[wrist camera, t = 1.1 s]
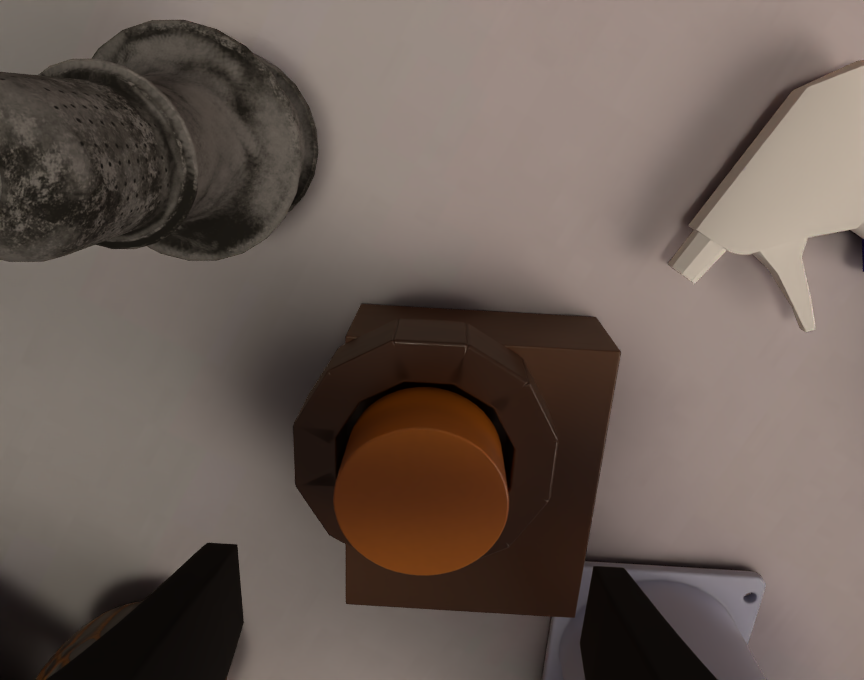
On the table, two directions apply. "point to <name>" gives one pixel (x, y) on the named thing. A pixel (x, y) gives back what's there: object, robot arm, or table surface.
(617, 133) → the table surface
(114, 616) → the vase
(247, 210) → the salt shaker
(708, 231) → the spray bottle
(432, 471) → the orange button
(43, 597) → the table surface
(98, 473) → the table surface
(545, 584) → the brown button base
